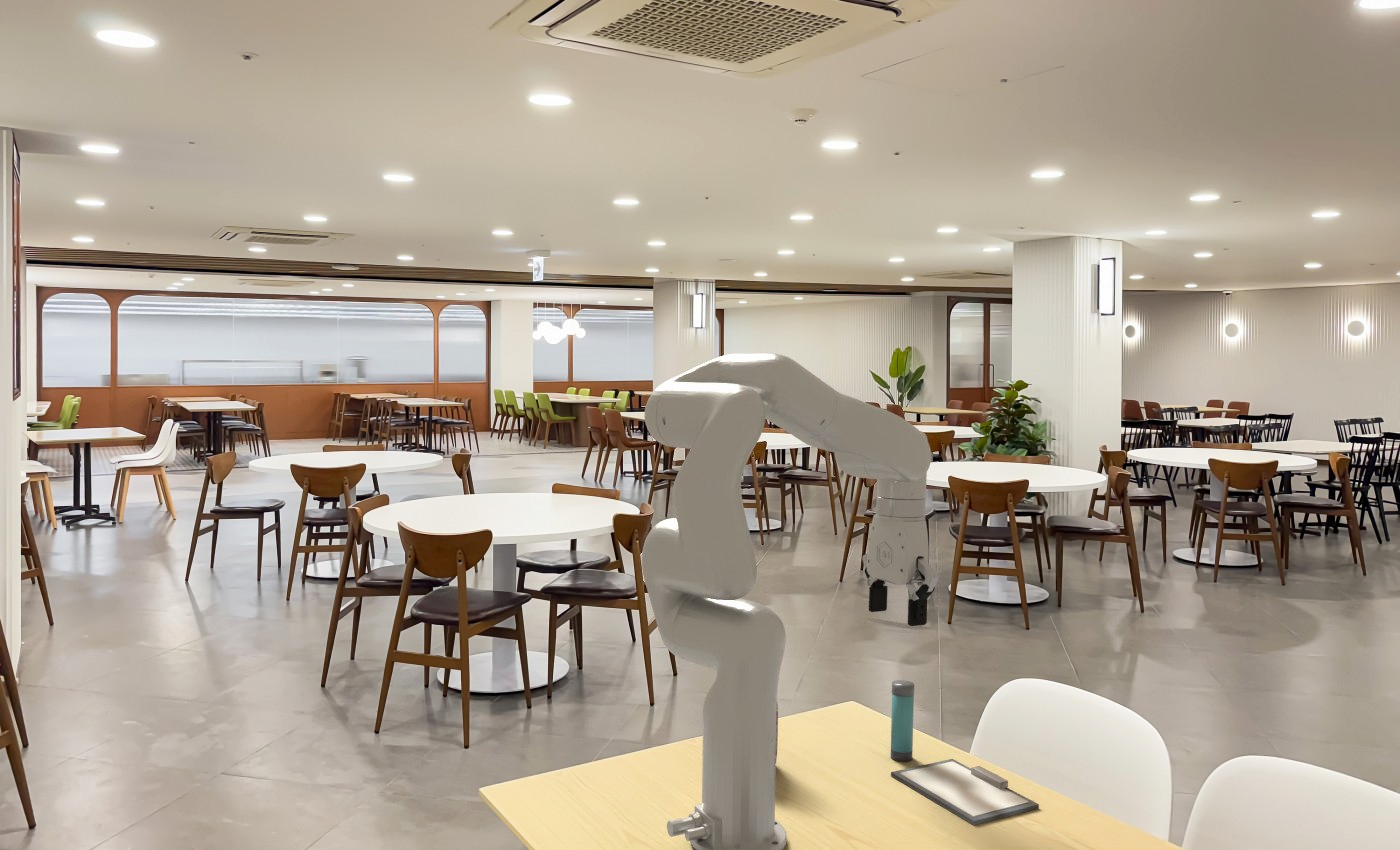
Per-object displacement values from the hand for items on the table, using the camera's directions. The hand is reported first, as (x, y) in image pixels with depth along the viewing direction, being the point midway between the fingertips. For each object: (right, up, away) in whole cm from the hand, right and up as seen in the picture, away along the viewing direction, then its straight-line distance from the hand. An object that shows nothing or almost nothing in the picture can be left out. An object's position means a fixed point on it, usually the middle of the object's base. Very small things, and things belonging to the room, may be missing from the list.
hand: (896, 617), depth 154 cm
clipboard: (+8, -24, -9) cm, 27 cm away
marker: (+1, -23, +3) cm, 23 cm away
